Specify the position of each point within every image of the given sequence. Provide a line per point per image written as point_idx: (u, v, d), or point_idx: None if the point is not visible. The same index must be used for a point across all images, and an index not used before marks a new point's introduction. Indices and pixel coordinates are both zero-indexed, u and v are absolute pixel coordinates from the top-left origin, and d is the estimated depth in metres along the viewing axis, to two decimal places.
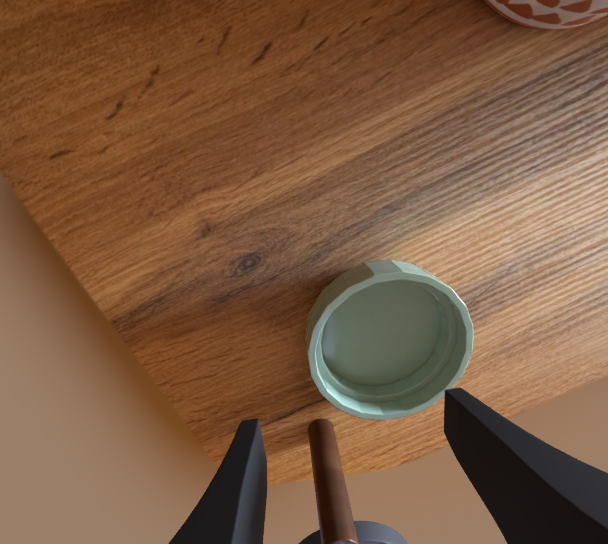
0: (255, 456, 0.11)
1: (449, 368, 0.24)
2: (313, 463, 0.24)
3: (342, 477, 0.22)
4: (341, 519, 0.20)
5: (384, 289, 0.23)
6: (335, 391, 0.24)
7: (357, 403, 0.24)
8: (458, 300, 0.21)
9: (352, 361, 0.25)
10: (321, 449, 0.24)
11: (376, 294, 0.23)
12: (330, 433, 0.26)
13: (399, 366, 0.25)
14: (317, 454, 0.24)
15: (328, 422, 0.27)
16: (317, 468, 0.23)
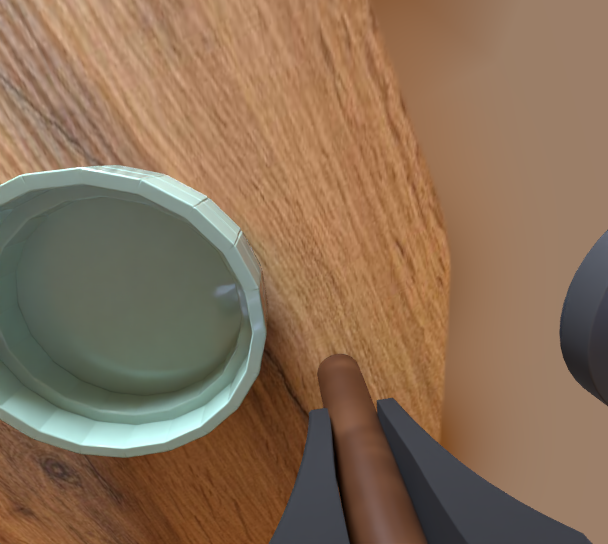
0: None
1: None
2: None
3: (346, 440, 0.11)
4: None
5: (49, 305, 0.14)
6: (221, 395, 0.14)
7: (245, 361, 0.13)
8: None
9: (195, 343, 0.15)
10: None
11: (60, 317, 0.14)
12: (325, 382, 0.15)
13: (201, 264, 0.14)
14: None
15: (321, 366, 0.16)
16: None
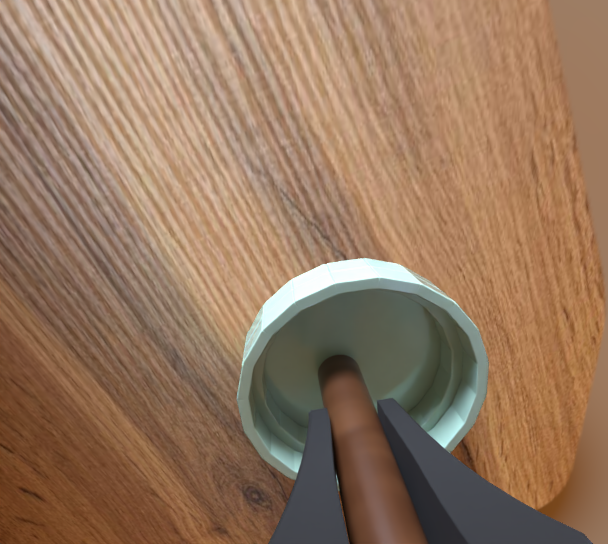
0: (332, 444, 0.11)
1: None
2: None
3: (346, 441, 0.11)
4: None
5: (286, 365, 0.17)
6: None
7: (453, 413, 0.16)
8: (282, 316, 0.13)
9: (394, 393, 0.18)
10: None
11: (292, 374, 0.17)
12: (325, 382, 0.15)
13: (412, 331, 0.17)
14: None
15: (322, 366, 0.16)
16: None
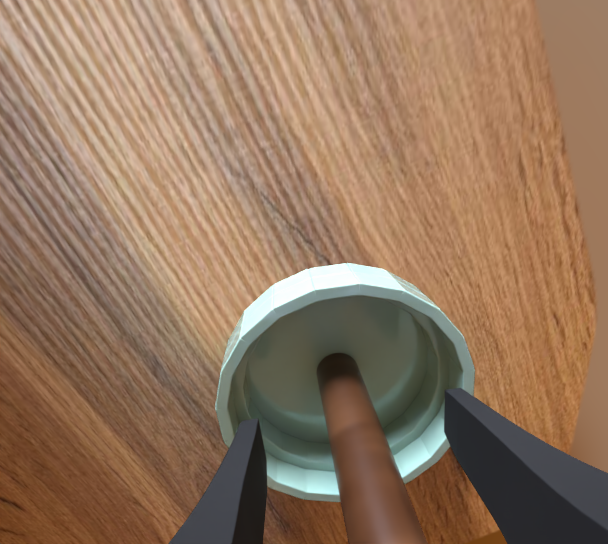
0: (255, 456, 0.11)
1: None
2: None
3: (344, 437, 0.12)
4: None
5: (269, 372, 0.16)
6: (414, 448, 0.16)
7: (440, 421, 0.16)
8: (261, 323, 0.13)
9: (381, 400, 0.17)
10: (325, 421, 0.14)
11: (276, 381, 0.17)
12: (323, 380, 0.15)
13: (398, 337, 0.16)
14: None
15: (320, 364, 0.16)
16: None
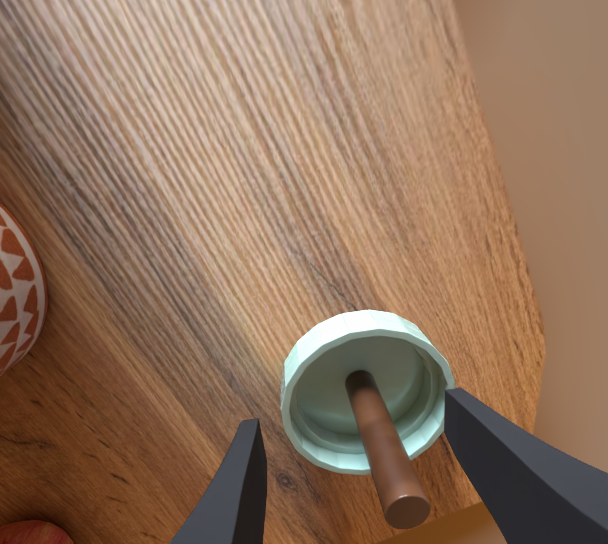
0: (255, 456, 0.11)
1: None
2: None
3: (370, 428, 0.18)
4: (378, 487, 0.16)
5: (311, 384, 0.23)
6: (414, 437, 0.23)
7: (432, 418, 0.23)
8: (314, 354, 0.19)
9: (390, 403, 0.24)
10: None
11: (316, 390, 0.23)
12: (352, 390, 0.22)
13: (403, 359, 0.23)
14: None
15: (348, 378, 0.23)
16: None
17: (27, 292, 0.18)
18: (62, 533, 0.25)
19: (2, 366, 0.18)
